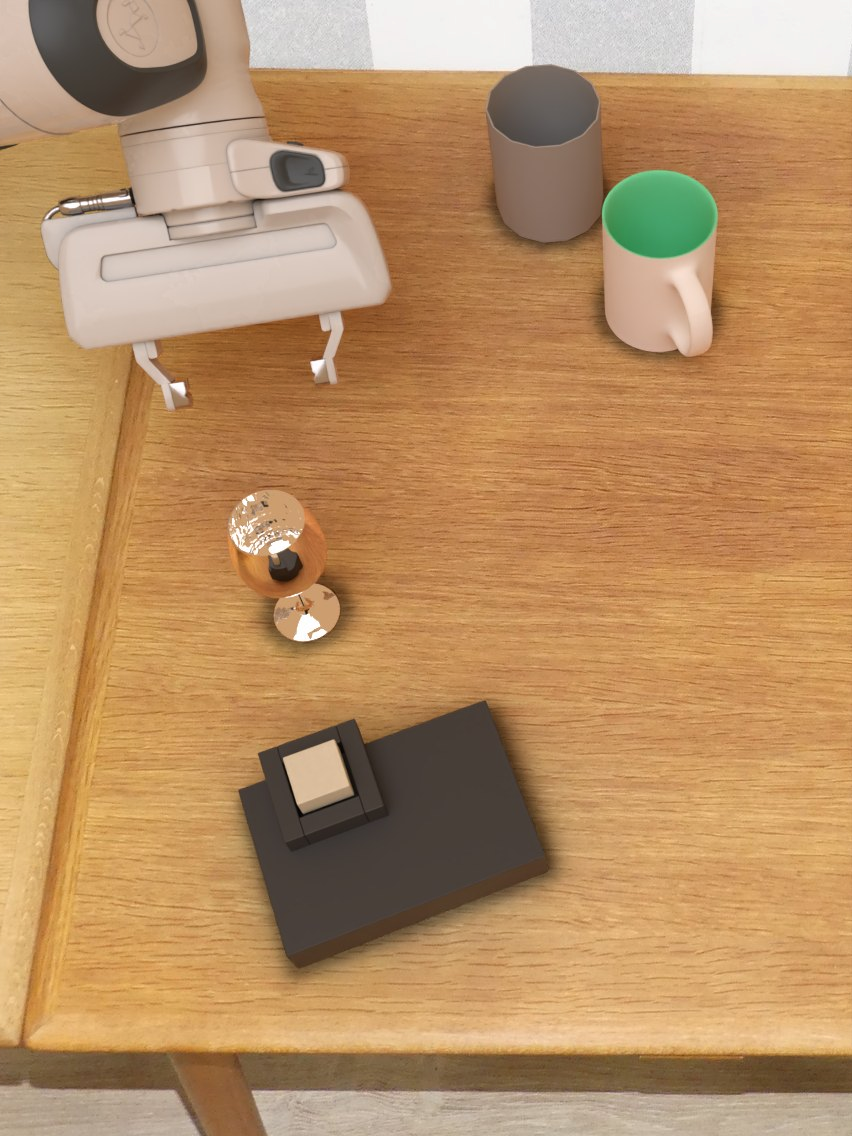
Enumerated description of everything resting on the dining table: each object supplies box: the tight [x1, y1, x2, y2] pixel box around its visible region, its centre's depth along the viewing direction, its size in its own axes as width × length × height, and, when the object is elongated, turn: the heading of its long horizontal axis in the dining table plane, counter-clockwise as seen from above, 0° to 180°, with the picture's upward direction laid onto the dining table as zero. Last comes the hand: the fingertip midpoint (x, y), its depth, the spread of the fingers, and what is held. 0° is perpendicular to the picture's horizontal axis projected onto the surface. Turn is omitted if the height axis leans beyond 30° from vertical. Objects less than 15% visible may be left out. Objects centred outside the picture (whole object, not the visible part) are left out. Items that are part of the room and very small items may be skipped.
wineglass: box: [226, 489, 341, 643], centre depth 91 cm, size 6×6×12 cm
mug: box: [601, 169, 719, 358], centre depth 103 cm, size 12×8×10 cm, turn 26°
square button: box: [283, 740, 354, 814], centre depth 86 cm, size 3×3×2 cm
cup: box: [484, 63, 604, 243], centre depth 109 cm, size 8×8×10 cm
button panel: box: [238, 699, 549, 970], centre depth 88 cm, size 12×16×5 cm
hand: (254, 396), depth 93 cm, fingers open, 8 cm apart
